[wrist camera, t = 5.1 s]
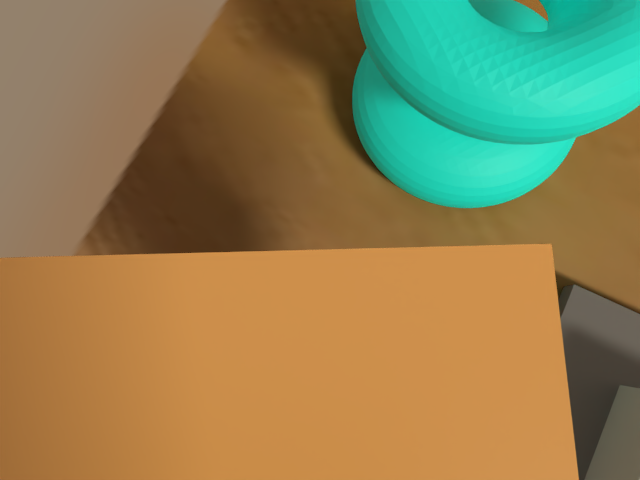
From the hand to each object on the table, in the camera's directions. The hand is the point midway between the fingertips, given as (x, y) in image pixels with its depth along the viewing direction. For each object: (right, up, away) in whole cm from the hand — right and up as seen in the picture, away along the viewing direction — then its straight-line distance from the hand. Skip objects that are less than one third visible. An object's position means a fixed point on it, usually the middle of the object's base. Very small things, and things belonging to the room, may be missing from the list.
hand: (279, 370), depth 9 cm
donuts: (+7, +8, +14) cm, 18 cm away
